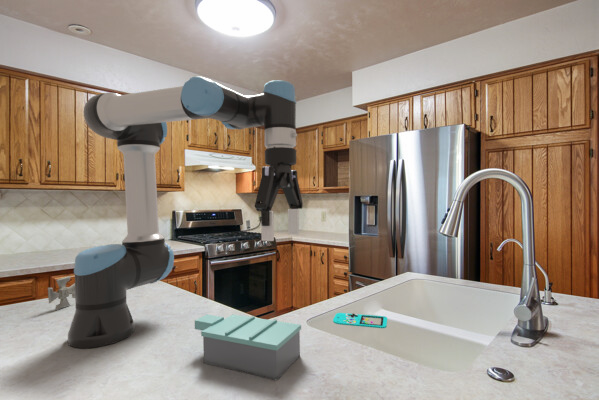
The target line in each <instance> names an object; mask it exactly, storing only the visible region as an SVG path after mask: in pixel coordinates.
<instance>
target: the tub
mask: <svg viewBox="0 0 599 400" xmlns="http://www.w3.org/2000/svg"><path fill="white" fill-rule="evenodd" d="M300 331H301V330H300ZM300 331H299V332H298V333H296V334H295V335H294V336H293V337H292V338H291V339H290V340H288V341H287V342H286V343H285V344H284V345H283V346H282V347H280V348H279V349H278V350H277V351H276V350H271V349H266V348H261V347H255V346H250V345H245V344H240V343H235V342H230V341H224V340H219V339H214V338H209V337H204V336H202V337H203V338H202V339H203V343H202V344H203V364H206V365H210V366H214V367H218V368H222V369H227V370H231V371H237V372H239V373H245V374H249V375H253V376H256V377H257V376H258V377H261V378H266V379H269V380H275V381H278V380H279V379H280V377H281V376H282V375H284V374H285V372H286V371H287V370H288V369H289V368H290V367H291V366H292V365H293V364H294V363H295V362H296V361H297V360H298V359H299V358H300V357H301V344H300V343H301V339H300V337H301V336H300V334H301V333H300Z"/></svg>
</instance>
